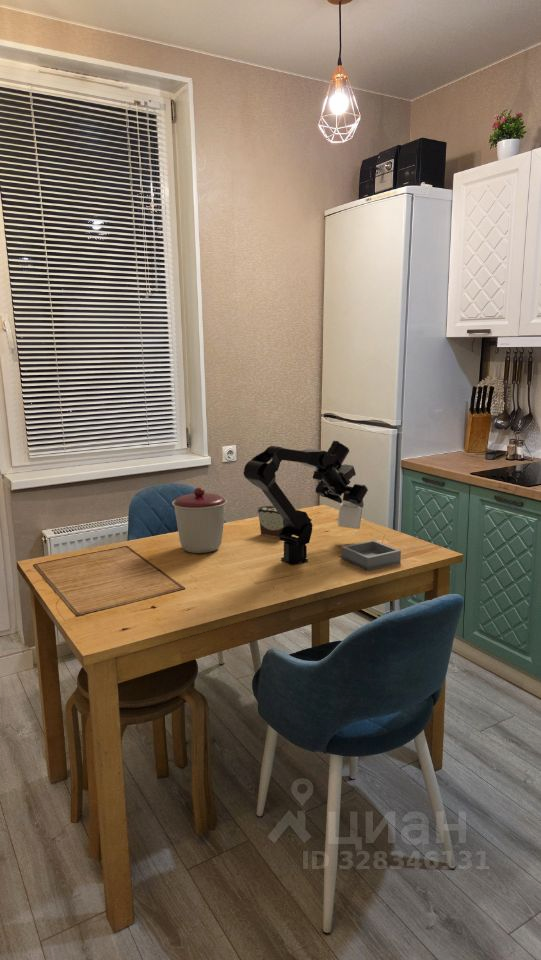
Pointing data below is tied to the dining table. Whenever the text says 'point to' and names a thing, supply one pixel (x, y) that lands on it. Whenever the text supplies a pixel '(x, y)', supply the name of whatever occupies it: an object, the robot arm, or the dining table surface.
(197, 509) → the canister
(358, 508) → the medicine bottle
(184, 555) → the dining table surface
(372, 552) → the open-top box
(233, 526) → the dining table surface
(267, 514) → the food container
